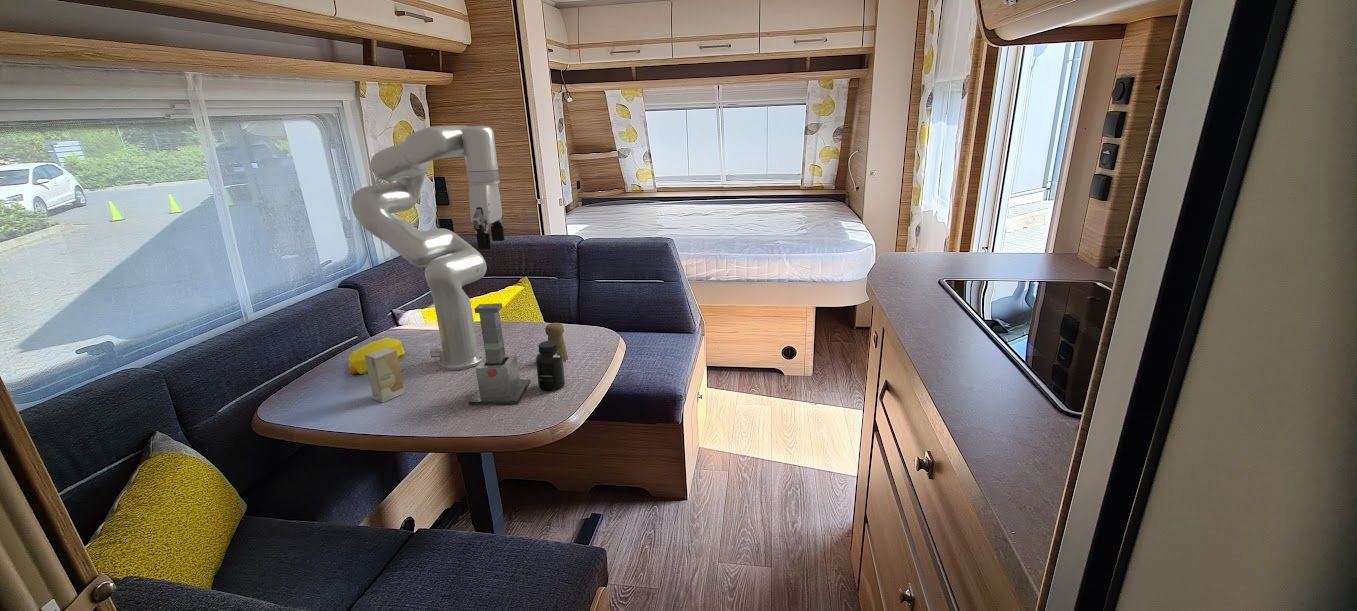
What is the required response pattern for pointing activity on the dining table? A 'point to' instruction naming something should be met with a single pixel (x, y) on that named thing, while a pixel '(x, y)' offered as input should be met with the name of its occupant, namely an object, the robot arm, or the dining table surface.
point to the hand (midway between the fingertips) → (491, 244)
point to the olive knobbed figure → (557, 337)
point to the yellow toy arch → (358, 356)
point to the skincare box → (384, 374)
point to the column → (492, 333)
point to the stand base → (499, 383)
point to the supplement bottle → (550, 367)
